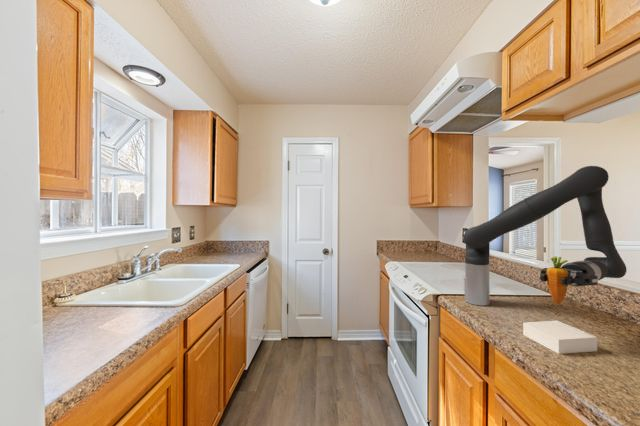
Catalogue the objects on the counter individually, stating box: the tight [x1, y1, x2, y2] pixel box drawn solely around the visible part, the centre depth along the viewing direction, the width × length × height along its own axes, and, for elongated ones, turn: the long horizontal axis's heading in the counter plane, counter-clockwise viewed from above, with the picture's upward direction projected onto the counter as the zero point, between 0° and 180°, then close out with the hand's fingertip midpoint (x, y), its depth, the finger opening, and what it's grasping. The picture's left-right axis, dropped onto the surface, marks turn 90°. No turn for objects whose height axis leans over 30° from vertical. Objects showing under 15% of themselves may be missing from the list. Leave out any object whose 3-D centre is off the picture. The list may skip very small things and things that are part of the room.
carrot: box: [546, 256, 569, 306], centre depth 84 cm, size 5×5×15 cm
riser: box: [522, 320, 598, 355], centre depth 84 cm, size 12×12×4 cm
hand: (552, 279), depth 82 cm, fingers closed on carrot, 4 cm apart
